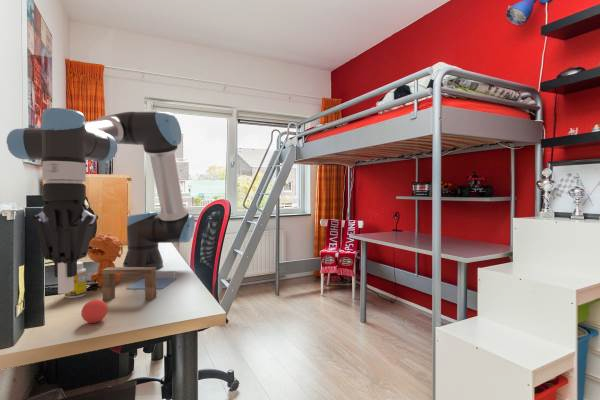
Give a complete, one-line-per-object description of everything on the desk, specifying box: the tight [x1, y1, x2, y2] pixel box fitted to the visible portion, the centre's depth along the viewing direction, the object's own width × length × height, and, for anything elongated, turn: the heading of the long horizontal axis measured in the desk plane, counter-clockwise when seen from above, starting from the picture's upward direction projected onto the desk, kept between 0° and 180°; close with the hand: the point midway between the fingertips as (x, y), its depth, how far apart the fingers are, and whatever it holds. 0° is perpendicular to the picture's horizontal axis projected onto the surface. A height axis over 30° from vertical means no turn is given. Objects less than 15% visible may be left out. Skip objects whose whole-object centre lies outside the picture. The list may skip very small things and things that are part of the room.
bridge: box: [101, 266, 157, 302], centre depth 96 cm, size 3×14×9 cm, turn 91°
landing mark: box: [125, 277, 177, 290], centre depth 112 cm, size 12×12×1 cm
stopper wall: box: [156, 270, 176, 279], centre depth 119 cm, size 2×10×2 cm, turn 91°
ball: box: [81, 298, 109, 324], centre depth 79 cm, size 6×6×6 cm
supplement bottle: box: [64, 261, 88, 299], centre depth 99 cm, size 6×6×10 cm
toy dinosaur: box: [87, 233, 124, 288], centre depth 111 cm, size 11×11×18 cm
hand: (66, 291), depth 69 cm, fingers closed
